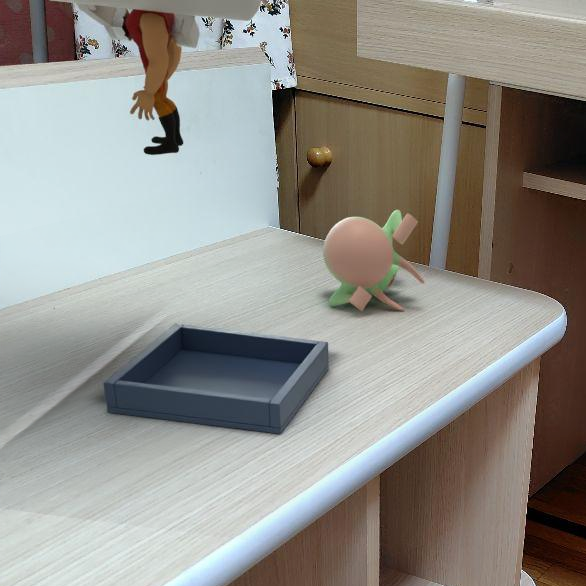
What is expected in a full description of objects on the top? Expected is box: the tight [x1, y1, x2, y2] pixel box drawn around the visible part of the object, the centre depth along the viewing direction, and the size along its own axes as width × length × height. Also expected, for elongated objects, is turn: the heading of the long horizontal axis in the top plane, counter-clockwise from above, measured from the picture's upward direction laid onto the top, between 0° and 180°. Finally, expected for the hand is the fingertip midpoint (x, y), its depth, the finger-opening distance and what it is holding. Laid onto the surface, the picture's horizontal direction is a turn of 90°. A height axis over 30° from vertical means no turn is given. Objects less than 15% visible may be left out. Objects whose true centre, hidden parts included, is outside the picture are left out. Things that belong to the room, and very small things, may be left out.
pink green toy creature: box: [322, 209, 426, 312], centre depth 102 cm, size 12×10×9 cm
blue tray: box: [103, 323, 330, 435], centre depth 81 cm, size 14×14×2 cm
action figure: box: [125, 9, 184, 156], centre depth 78 cm, size 10×4×15 cm, turn 10°
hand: (156, 36), depth 78 cm, fingers closed on action figure, 4 cm apart
